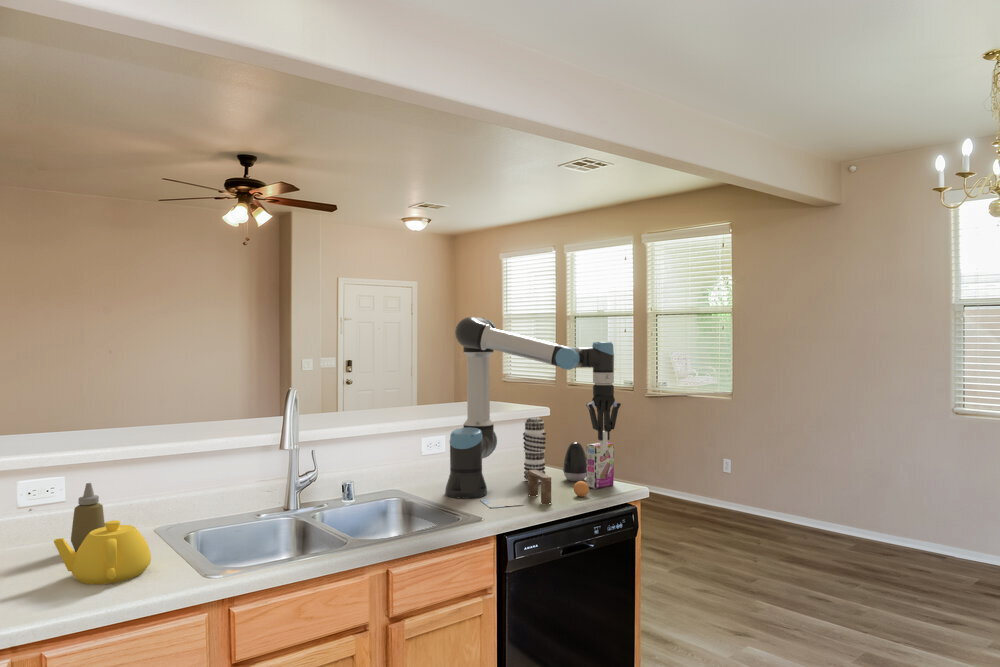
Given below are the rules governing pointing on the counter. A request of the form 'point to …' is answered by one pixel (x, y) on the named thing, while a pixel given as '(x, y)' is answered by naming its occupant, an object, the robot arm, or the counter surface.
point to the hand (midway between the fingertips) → (603, 449)
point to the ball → (581, 488)
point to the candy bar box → (599, 466)
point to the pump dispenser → (575, 462)
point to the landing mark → (488, 502)
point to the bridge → (545, 485)
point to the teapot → (107, 555)
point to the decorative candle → (534, 445)
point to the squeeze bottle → (86, 516)
